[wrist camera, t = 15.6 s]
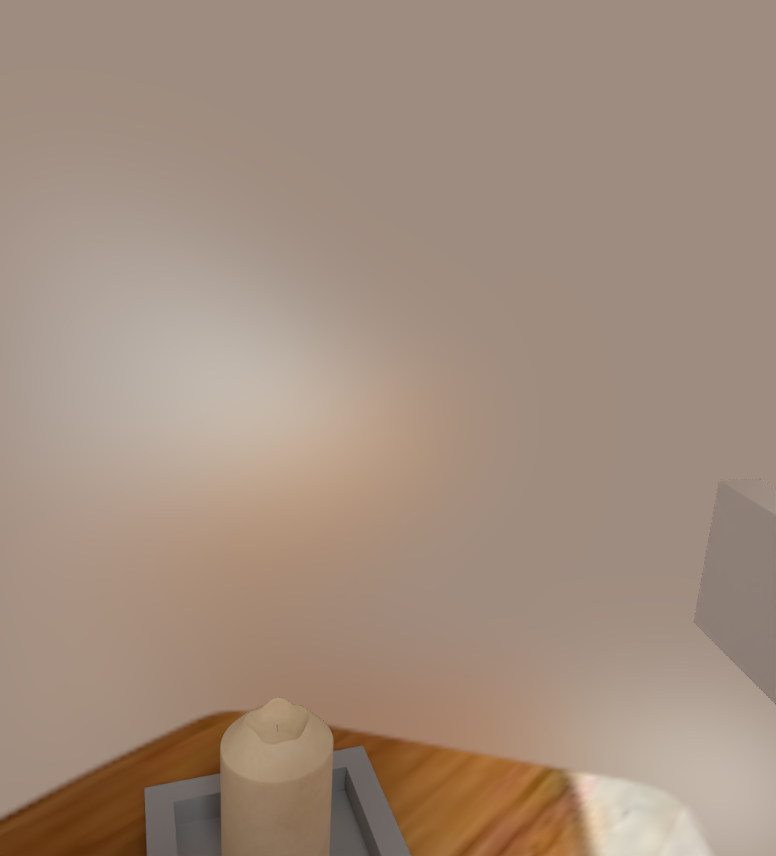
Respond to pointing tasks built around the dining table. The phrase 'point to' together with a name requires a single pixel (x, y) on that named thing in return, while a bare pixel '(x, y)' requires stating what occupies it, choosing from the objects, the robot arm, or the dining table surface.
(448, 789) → the dining table surface
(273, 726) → the candle
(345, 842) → the charcoal dish
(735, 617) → the robot arm
